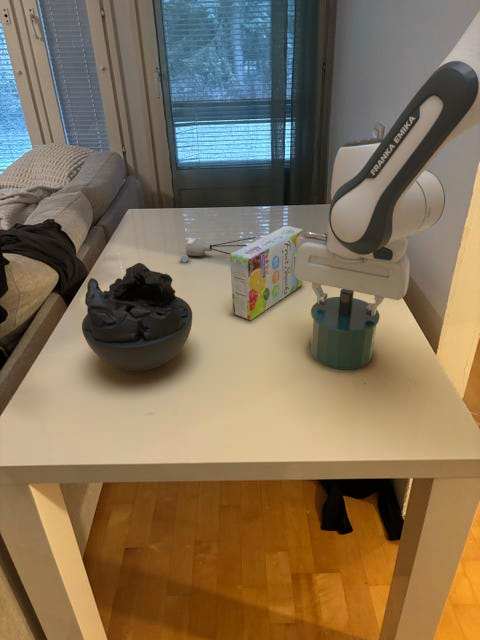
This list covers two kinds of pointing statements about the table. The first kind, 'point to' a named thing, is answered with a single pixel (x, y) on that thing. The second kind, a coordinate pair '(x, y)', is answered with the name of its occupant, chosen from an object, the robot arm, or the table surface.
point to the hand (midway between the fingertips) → (345, 308)
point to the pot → (342, 347)
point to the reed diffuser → (202, 248)
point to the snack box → (264, 272)
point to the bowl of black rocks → (136, 320)
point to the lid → (344, 314)
